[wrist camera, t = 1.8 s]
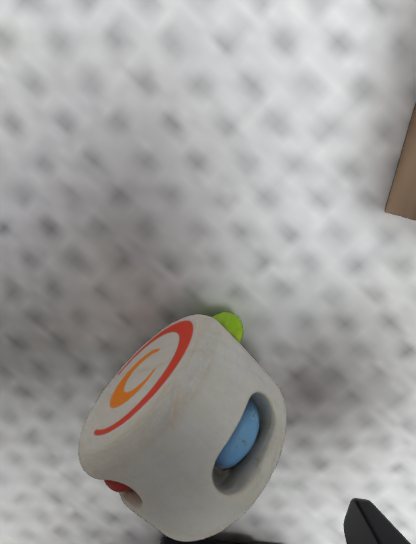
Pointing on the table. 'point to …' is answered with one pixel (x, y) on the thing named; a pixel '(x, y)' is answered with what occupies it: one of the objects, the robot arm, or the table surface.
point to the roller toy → (187, 428)
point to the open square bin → (405, 178)
